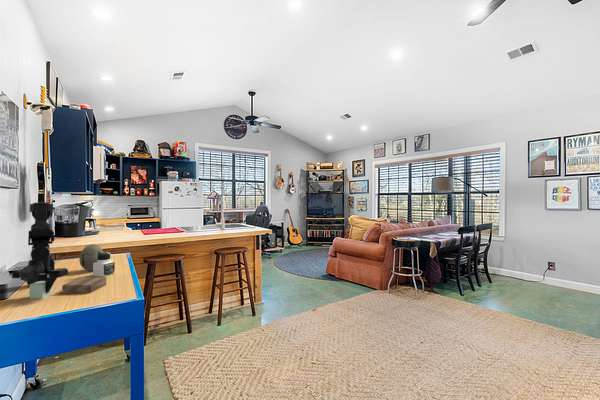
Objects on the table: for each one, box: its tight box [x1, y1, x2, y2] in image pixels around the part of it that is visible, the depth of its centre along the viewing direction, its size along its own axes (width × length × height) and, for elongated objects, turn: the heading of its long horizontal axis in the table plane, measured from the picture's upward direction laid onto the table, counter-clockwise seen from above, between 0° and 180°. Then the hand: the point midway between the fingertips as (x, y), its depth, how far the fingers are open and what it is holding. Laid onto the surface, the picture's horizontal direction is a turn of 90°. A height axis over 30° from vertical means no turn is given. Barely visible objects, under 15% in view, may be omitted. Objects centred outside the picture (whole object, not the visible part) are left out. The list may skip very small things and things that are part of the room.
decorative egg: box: [78, 244, 105, 272], centre depth 169 cm, size 12×12×15 cm
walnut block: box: [61, 276, 107, 294], centre depth 136 cm, size 12×12×4 cm
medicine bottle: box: [92, 252, 116, 278], centre depth 160 cm, size 7×7×12 cm
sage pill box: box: [29, 281, 52, 300], centre depth 125 cm, size 5×5×6 cm
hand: (40, 293), depth 125 cm, fingers closed on sage pill box, 5 cm apart
